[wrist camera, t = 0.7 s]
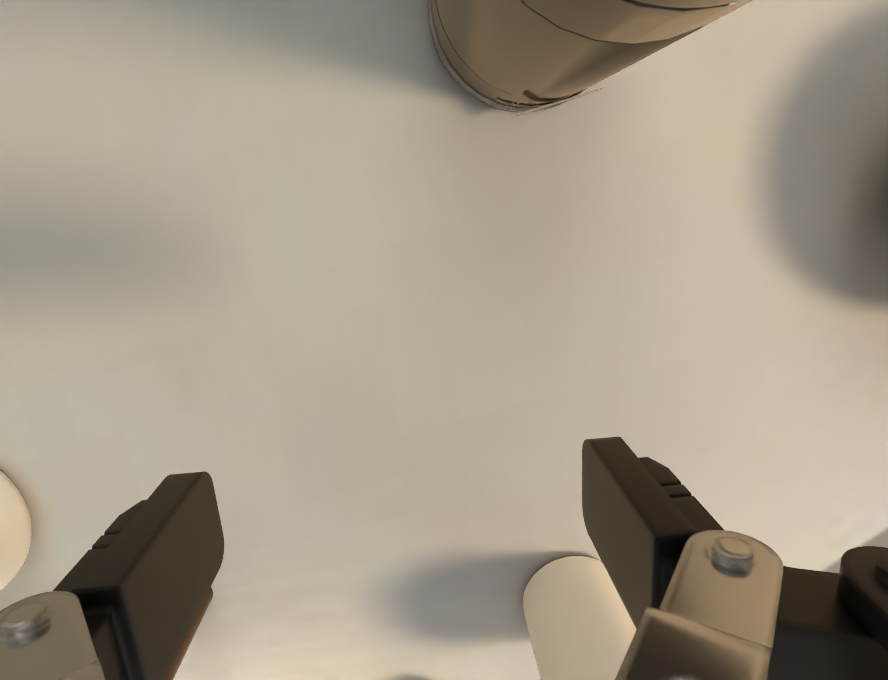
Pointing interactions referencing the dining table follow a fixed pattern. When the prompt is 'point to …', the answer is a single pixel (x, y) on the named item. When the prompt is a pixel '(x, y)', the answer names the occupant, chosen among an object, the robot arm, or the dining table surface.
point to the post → (188, 637)
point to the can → (576, 620)
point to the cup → (12, 530)
